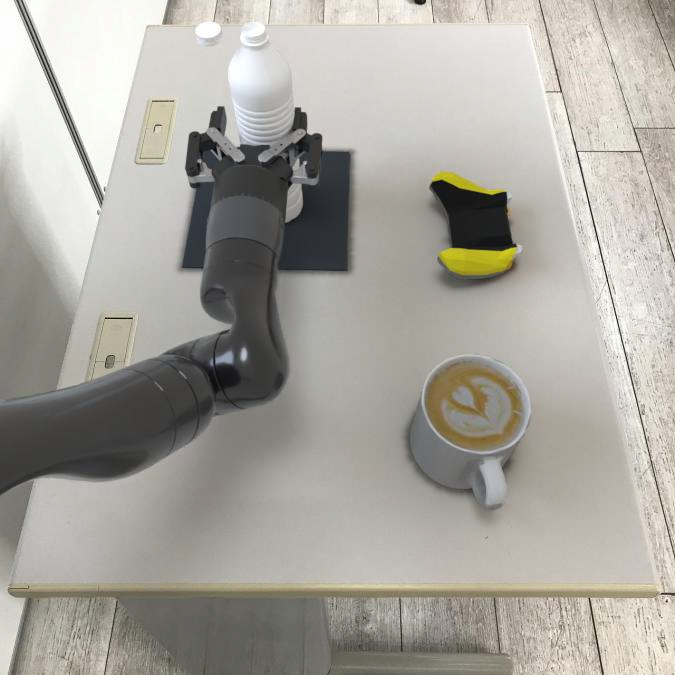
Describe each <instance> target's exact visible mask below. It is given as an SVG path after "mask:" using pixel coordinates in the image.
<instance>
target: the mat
mask: <svg viewBox="0 0 675 675" xmlns="http://www.w3.org/2000/svg"><path fill="white" fill-rule="evenodd" d="M308 154H309V152H305V153H304V154H303V155H302V156H301V157H299V168H300V166H301V165H302V164H303V162H304V161H308ZM203 162H205V163H206V165H207V168H209V169H212V168H213V166H214V165H215V164H216V163H217V162H219V159H218V158H217V157H216V156H215V155H214V153H213V152H212V151H211V150H208V151H204V160H203ZM349 185H350V151H341V150H340V151H339V150H338V151H336V150H335V151H333V150H331V151H330V150H323V157H322V164H321V172H320V179H319V186H318V188H317V189H316V190H309V189H308V188H307V184H301V189H302V197H303V207H302V209H301V212H300V213H299V215H298V216H297V217H296V218H294V219H292V220H291V221H289V222H287V223H285V230H284V242H283V249H282V253H281V257H280V261H279V270H285V271H286V270H287V271H288V270H290V271H335V272H336V271H337V272H338V271H339V272H342V271H344V272H345V271H348V242H349V241H348V240H349V238H348V237H349V194H350V193H349V191H350V186H349ZM213 189H214V182H201V186H200V187H199V188H195V193H194V200H193V206H192V210H191V216H190V222H189V226H188V227H189V228H188V233H187V238H186V243H185V248H184V253H183V259H182V265H181V267H182V269H187V268H188V269H203V268H204V262H205V255H206V231H207V227H206V225H207V219H208V217H209V213H210V207H211V201H212V195H213Z"/></svg>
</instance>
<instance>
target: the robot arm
mask: <svg viewBox="0 0 675 675" xmlns="http://www.w3.org/2000/svg"><path fill="white" fill-rule="evenodd" d="M294 111H295V115H294V122H293V133H292V134H291V135H290V136H289V137H287V138H285V137H283V138H281V139H280V140H279V141H278V142H277V143H275V144H274V145H273V146H272V147H270V145H258V146H252V145H248V144H240V143H239V146H237V147H236V145H235V144H234V143H233V142H232V141H231V140H230V139H229V138H228V136H226V128H227V122H228V118H227V113H226V108H225V106H224V105H217V107H216V110H213V111H212V112H211V113H210V118H209V123H208V128H207V129H206V131H205V132H201V133H200V132H199V131H197V130H195V131H191V132H189V134H188V139H187V148H186V158H185V164H184V170H185V173H186V174H185V175H186V177H187V181H188V184H189V187H190V188H191V189H196V188H199V187H200V186H201V182H214V189H213V195H212V201H211V207H210V213H209V217H208V219H207V225H206V227H207V231H206V255H205V262H204V268H202V275H201V279H200V280H201V282H200V286H199V301H200V304H201V305H200V306H201V308H202V309H203V311H204V312H205V314H207V315H208V316H209V317H210V318H211V319H212V320H215V322H216V321H217V322H219V323H222V324H226V325H231V327H230V328H228V329H226V330H221V331H218V332H215V333H211V334H208V335H204V336H201V337H198V338H195V339H192V340H189V341H186V342H184V343H181V344H179V345H176V346H174V347H172V348H170V349H168V350H166V351H164V352H162V353H161V354H159V355H157V356H154V357H150V358H147V359H143V360H141V361H137V362H135V363H133V364H130V365H128V366H125V367H123V368H119V369H116V370H115V371H112V372H109V373H107V374H104V375H101V376H99V377H97V378H94V379H91V380H88V381H84V382H81V383H79V384H75V385H71V386H68V387H64V388H60V389H55V390H50V391H46V392H41V393H35V394H32V395H26V396H25V395H24V396H19V397H12V398H7V399H0V497H1V496H3V495H4V494H6V493H8V492H11V491H12V490H13V489H15V488H18V487H20V486H22V485H24V484H26V483H29V482H32V481H35V480H42V479H44V480H45V479H56V480H57V479H58V480H66V481H73V482H74V481H75V482H83V483H84V482H85V483H107V482H114V481H118V480H123V479H127V478H129V477H132V476H135V475H137V474H139V473H141V472H143V471H145V470H147V469H149V468H152V467H153V466H155V465H156V464H158V463H160V462H161V461H163V460H165V459H167V458H168V457H169V456H170V455H173V454H174V453H175V452H178V451H179V450H181V449H182V448H184V447H186V446H187V445H189V444H191V443H192V442H193V441H195V440H196V439H197V438H198V437H199V436H201V435H202V434H203V433H204V432H205V431H206V429H207V428H208V427H209V426H210V424H211V422H212V420H213V419H214V418H215V417H220V416H223V415H228V414H232V413H237V412H241V411H245V410H250V409H254V408H255V409H256V408H259V407H263V406H266V405H268V404H272V403H273V402H275V400H277V399H278V398H279V397H280V395H281V394H282V393H283V391H284V390H285V388H286V386H287V384H288V380H289V377H290V372H291V361H290V355H289V351H288V347H287V343H286V339H285V336H284V331H283V327H282V321H281V315H280V311H279V310H280V309H279V305H278V300H277V291H278V280H279V271H280V269H279V261H280V257H281V253H282V249H283V242H284V230H285V219H286V207H287V195H288V190H289V188H290V187H291V185H292V184H293V183H298V184H307V188H308V189H309V190H316V189H317V188H318V186H319V179H320V172H321V164H322V157H323V151H324V149H323V135H322V134H321V133H319V132H315V133H312V134H310V133H308V123H309V122H308V114H307V112H306V111H302V106H294ZM208 150H211V151H212V152H213V153H214V155H215V156H216V157H217V158H218V159H219V162H217V163H216V164H215V165H214V166H213V168H212V169H209V168H207V165H206V163H205V162H203V160H204V151H208ZM305 152H309V154H308V161H304V162H303V164H302V165H301V166H300V168H299V169H298V170H295V171H293V169H292V167H293V166H294V164H295V162H296V160H297V159H298V158H299V157H301V156H302V155H303V154H304V153H305ZM281 155H282V156H281Z"/></svg>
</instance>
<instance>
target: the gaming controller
mask: <svg viewBox="0 0 675 675" xmlns="http://www.w3.org/2000/svg"><path fill="white" fill-rule="evenodd" d="M429 190H430V192H431V194H432V196H434V198H435V200H436V201H437V203H438V204H439V206H440V207H441V208H442V211H443V212H444V214H445V216H446V219H447V224H448V233H449V240H450V247H449V248H447V249H444V250H442V251H440V252H439V253H438V254H437V258H436V260H437V262H438V264H439V265H440V266H441V268H443V269H444V270H445V271H446V272H447V273H448V274H449V275H451V276H453V277H456V278H458V279H461V280H480V279H482V280H483V279H485V280H486V279H490V278H493V277H496V276H500V275H502V274H503V275H504V273H506V272H507V271H508V270H510V269H511V268H512V266H513V263H514V260H515V258H517V256H518V255H520V254H521V253H522V250H523V245H521V244H517V243H514V242H513V236H512V230H511V226H510V220H509V216H510V212H511V211H510V209H509V208H508V206H509V204H510V202H511V200H512V199H513V194H512V192H510V191H507V190H505V189H502V188H501V189H499V188H497V189H487V188H485V187H484V186H483V187H482V186H480V185H478V184H477V183H474V182H473V181H470V180H469V179H466V178H465V177H463V176H461V175H459V174H456V173H455V172H453V171H452V172H451V171H443V170H440V171H439V172H438V173H436V174H434V175H433V177H432V180H431V182H430V185H429Z"/></svg>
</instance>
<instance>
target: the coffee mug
mask: <svg viewBox="0 0 675 675" xmlns="http://www.w3.org/2000/svg"><path fill="white" fill-rule="evenodd" d="M531 419H532V400H531V396H530V393H529V391H528V388H527V386H526V385H525V383H524V381H523V380H522V378H521V377H520V376H519V375H518V374H517V373H516V372H515V370H513V369H512V368H511V367H510V366H508V365H507V364H505V363H504V362H502V361H500V360H498V359H496V358H493V357H490V356H487V355H482V354H478V353H465V354H459V355H454V356H451V357H448V358H446V359H445V360H442V361H441V362H439V363H438V364H437V365H436V366H435V367H433V368H432V370H431V371H430V372H429V373H428V375H427V376H426V378H425V380H424V382H423V385H422V388H421V391H420V395H419V399H418V403H417V406H416V411H415V414H414V418H413V421H412V424H411V429H410V436H409V438H410V439H409V443H410V449H411V453H412V456H413V458H414V461H415V462H416V464H417V465H418V467H419V469H420V470H421V471H422V472H423V473H424V474H425V475H426V476H427V477H428V478H430V479H431V480H432V481H434V482H436V483H438V484H439V485H441V486H444V487H447V488H450V489H456V490H470V489H472V492H473V494H474V498H475V500H476V502H477V504H478V506H479V507H480V509H482V510H483V511H487V512H489V511H490V512H491V511H492V512H493V511H496V510H499V509H501V508H503V506H504V505H505V503H506V500H507V499H508V498H507V497H508V496H507V495H508V488H507V487H508V486H507V482H506V476H505V473H504V471H503V467H504V465H505V464H506V462H507V461H508V460H509V458H510V457H511V455H512V453H513V452H514V450H515V449H516V447H518V445H519V444H520V442H521V440H522V438H523V437H524V436H525V434H526V432H527V430H528V428H529V426H530V423H531Z"/></svg>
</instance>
